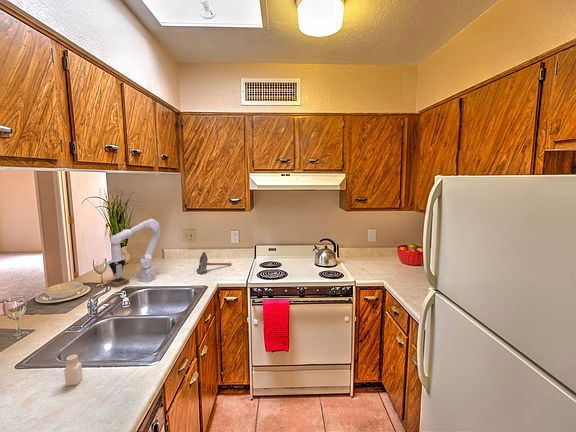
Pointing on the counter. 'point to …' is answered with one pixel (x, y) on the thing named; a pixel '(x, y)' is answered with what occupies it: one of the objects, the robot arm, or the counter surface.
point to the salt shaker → (73, 371)
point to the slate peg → (118, 270)
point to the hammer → (204, 264)
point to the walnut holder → (118, 282)
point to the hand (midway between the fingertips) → (117, 272)
